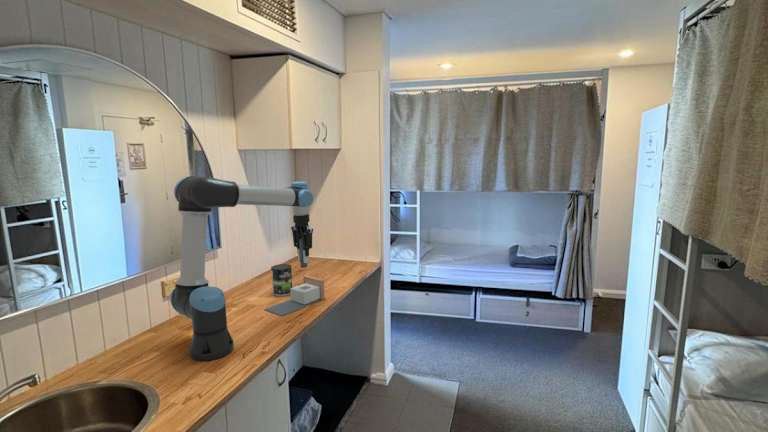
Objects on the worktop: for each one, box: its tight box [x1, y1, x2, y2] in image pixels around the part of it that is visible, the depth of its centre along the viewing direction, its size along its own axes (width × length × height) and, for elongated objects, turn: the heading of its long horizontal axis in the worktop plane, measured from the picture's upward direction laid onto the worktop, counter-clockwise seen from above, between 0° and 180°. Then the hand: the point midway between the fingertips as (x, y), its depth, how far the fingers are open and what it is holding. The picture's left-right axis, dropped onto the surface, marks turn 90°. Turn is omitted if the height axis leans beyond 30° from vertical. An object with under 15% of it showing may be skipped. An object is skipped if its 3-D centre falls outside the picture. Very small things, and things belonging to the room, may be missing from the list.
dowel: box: [299, 238, 308, 269], centre depth 199 cm, size 3×3×14 cm
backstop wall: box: [303, 274, 326, 301], centre depth 207 cm, size 2×13×10 cm, turn 52°
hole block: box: [290, 283, 320, 305], centre depth 202 cm, size 10×10×6 cm
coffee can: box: [270, 263, 293, 297], centre depth 214 cm, size 10×10×14 cm
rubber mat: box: [264, 298, 325, 317], centre depth 198 cm, size 26×13×1 cm, turn 142°
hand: (303, 261), depth 199 cm, fingers closed on dowel, 3 cm apart
